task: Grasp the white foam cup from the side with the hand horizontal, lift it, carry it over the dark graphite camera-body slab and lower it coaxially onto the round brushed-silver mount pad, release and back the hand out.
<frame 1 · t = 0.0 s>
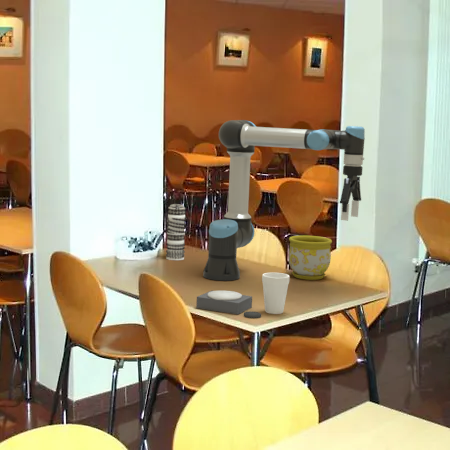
hand: (349, 218, 329), 28 cm above the table, tool pointing down, fingers open, 13 cm apart
flowerpot: (308, 277, 350), on the table
lens cap: (252, 317, 281), on the table
foam cup: (274, 312, 288), on the table
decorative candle: (175, 259, 378), on the table
mount: (224, 307, 291), on the table
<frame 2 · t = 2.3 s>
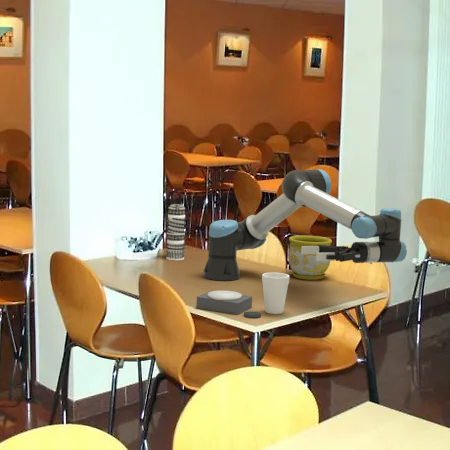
hand: (309, 253, 288), 21 cm above the table, tool horizontal, fingers open, 13 cm apart
nothing on the table moved.
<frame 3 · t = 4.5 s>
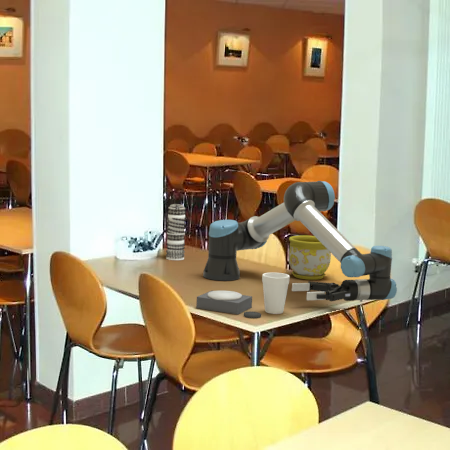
hand: (299, 291, 288), 7 cm above the table, tool horizontal, fingers open, 13 cm apart
nothing on the table moved.
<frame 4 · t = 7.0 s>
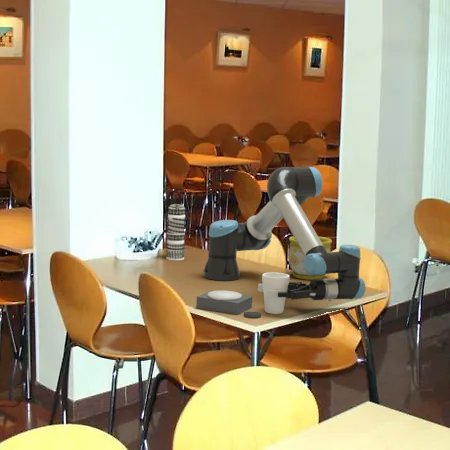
hand: (263, 291, 286), 8 cm above the table, tool horizontal, fingers closed on foam cup, 9 cm apart
foam cup: (274, 312, 288), on the table, touching gripper
everything else where it was.
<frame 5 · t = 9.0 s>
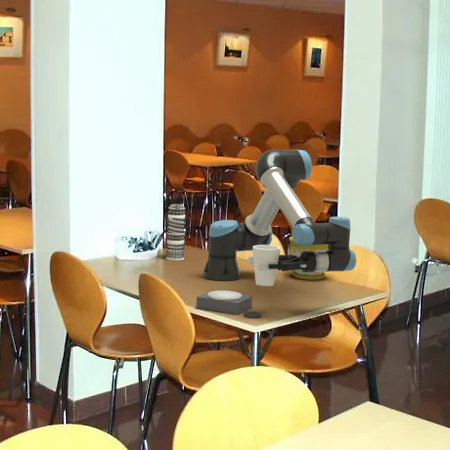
hand: (253, 263, 284), 17 cm above the table, tool horizontal, fingers closed on foam cup, 9 cm apart
foam cup: (264, 284, 287), point 10 cm above the table, touching gripper
everything else where it was.
when the fingers open (14 cm above the table, at t = 11.0 s): foam cup drops 2 cm, resting on mount.
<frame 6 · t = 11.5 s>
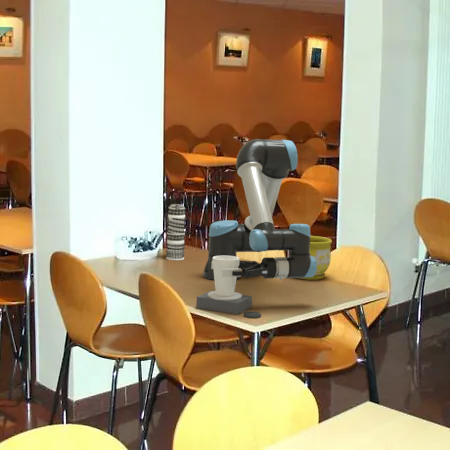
hand: (216, 269, 288), 14 cm above the table, tool horizontal, fingers open, 13 cm apart
foam cup: (224, 294, 290), point 5 cm above the table, touching mount
everything else where it was.
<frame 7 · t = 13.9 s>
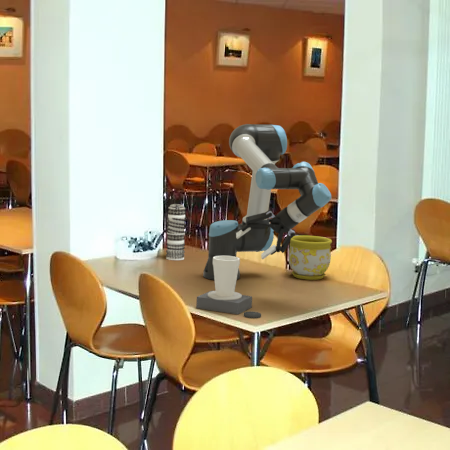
hand: (249, 246, 304), 20 cm above the table, tool tilted 50°, fingers open, 13 cm apart
nothing on the table moved.
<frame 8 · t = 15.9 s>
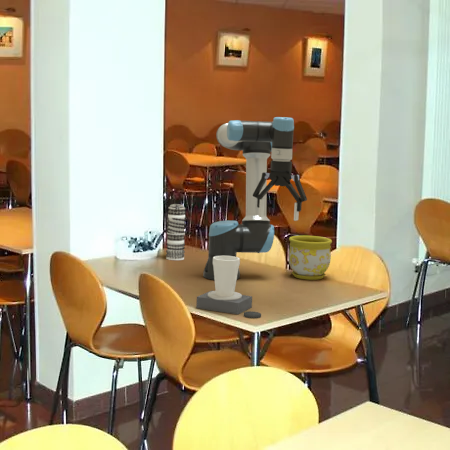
hand: (278, 218, 300), 31 cm above the table, tool pointing down, fingers open, 13 cm apart
nothing on the table moved.
at the end: foam cup inside the target area on the mount (0.1 cm from its centre), point 4.6 cm above the mount's base; foam cup tilted 0°; the gripper is holding nothing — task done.
